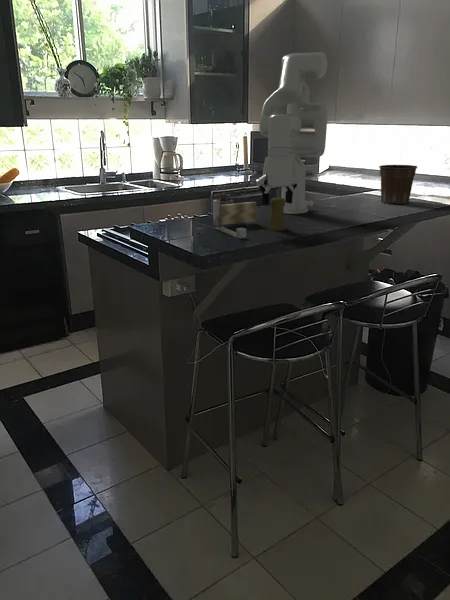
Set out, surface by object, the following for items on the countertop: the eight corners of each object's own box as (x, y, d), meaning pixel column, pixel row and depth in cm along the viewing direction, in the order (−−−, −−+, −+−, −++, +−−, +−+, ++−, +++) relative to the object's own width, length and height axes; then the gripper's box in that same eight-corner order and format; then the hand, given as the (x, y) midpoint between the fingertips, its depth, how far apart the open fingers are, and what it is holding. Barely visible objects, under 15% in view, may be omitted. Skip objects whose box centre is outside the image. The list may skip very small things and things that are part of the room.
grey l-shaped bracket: (212, 227, 186) (211, 199, 182) (218, 226, 187) (217, 199, 183) (239, 238, 169) (240, 208, 166) (246, 237, 170) (246, 207, 167)
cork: (264, 228, 183) (265, 197, 180) (275, 226, 187) (276, 195, 184) (277, 231, 179) (278, 199, 176) (288, 228, 183) (290, 197, 180)
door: (222, 225, 185) (222, 205, 183) (219, 223, 188) (218, 204, 185) (256, 221, 191) (256, 202, 189) (252, 219, 194) (252, 201, 191)
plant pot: (368, 202, 235) (371, 165, 230) (390, 198, 244) (393, 163, 239) (398, 206, 223) (402, 168, 217) (420, 202, 232) (425, 166, 226)
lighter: (233, 218, 201) (233, 192, 197) (233, 220, 198) (233, 194, 194) (212, 219, 201) (212, 193, 197) (212, 220, 198) (212, 194, 194)
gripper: (293, 152, 181) (291, 201, 187) (251, 153, 173) (250, 204, 179) (306, 153, 175) (303, 203, 180) (263, 154, 167) (262, 206, 173)
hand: (277, 203), depth 180 cm, fingers open, 9 cm apart
